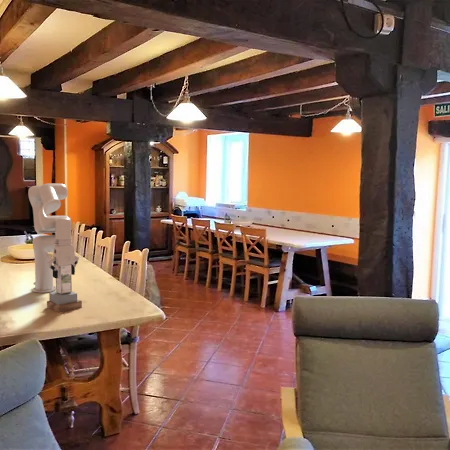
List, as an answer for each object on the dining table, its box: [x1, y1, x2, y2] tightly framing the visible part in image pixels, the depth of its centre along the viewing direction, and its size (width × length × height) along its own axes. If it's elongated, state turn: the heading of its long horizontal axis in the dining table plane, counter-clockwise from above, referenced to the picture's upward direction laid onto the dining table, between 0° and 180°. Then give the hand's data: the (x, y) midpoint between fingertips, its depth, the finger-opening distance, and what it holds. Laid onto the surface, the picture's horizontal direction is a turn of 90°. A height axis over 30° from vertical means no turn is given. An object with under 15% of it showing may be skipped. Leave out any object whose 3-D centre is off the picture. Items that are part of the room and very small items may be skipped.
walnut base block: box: [46, 299, 83, 313], centre depth 237 cm, size 12×12×4 cm
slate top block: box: [48, 291, 78, 305], centre depth 236 cm, size 10×10×4 cm
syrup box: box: [55, 265, 73, 294], centre depth 236 cm, size 6×6×14 cm
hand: (63, 276), depth 235 cm, fingers open, 9 cm apart
